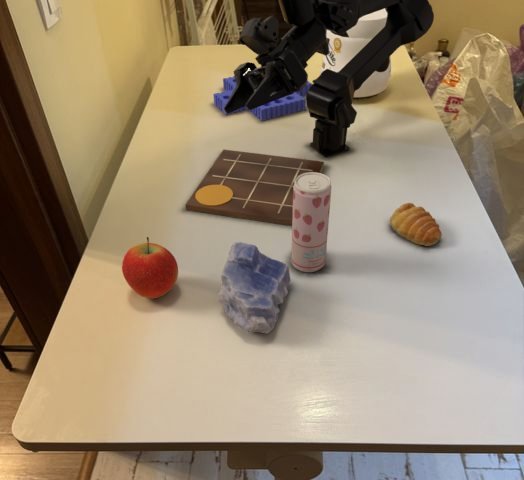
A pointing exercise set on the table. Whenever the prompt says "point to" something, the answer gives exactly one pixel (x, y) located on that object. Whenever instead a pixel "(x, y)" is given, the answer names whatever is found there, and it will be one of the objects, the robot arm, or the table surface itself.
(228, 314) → the mineral
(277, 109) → the building block
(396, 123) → the table surface
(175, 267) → the apple
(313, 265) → the beverage can
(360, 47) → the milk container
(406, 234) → the pastry
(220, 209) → the board
